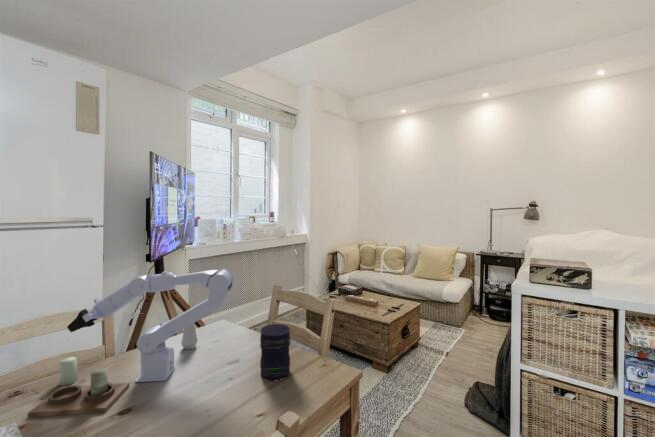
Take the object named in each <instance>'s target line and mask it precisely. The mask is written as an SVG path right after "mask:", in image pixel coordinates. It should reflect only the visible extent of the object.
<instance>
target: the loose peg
mask: <svg viewBox="0 0 655 437" xmlns="http://www.w3.org/2000/svg"><path fill="white" fill-rule="evenodd" d="M77 362H78V359H77V357H76V356H70V357H66V358H63V359H61V360H60V361H59V364H60V365H59V366H60V367H59V368H60V369H59V370H60V373H59V374H60V376H59V377H60V383H59V384H60V385H61V386H70V385H71V384H74V383H75V382H77V381H78V363H77Z"/></svg>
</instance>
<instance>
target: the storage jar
mask: <svg viewBox="0 0 655 437" xmlns="http://www.w3.org/2000/svg"><path fill="white" fill-rule="evenodd" d="M290 329H291V328H290V327H289V326H288V325H285V324H281V323H279V324H278V323H276V324H269V325H265V326H263V327H262V328H260V340H259V341H260V345H259V346H260V350H261V357H260V364H259V366H260V367H259V368H260V378H261V379H262V378H264V379H266V380H269V381H268V382H276V381H275V380H280V379H283V378H285V377H287V376H288V375H289V376H290V374H289V373H290V368H291V355H290V346H291V333H290V332H291V330H290ZM289 376H288V377H289ZM288 377H287V378H288ZM264 379H263V380H264ZM285 379H286V378H285ZM266 380H265V381H266ZM283 380H284V379H283ZM280 381H281V380H280Z"/></svg>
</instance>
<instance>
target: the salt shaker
mask: <svg viewBox="0 0 655 437" xmlns="http://www.w3.org/2000/svg"><path fill="white" fill-rule="evenodd" d="M197 344H198V337H197V331H196V327H195V323H193V324H191V325H189V326H188V327H186V328H184V329H183V334H182V339H181V347H182V348H183V350H184V349H186V350H185V351H190V350H189V349H191V350H193V349H192V348H194V347H195V348H196V346H197ZM195 348H194V349H195Z"/></svg>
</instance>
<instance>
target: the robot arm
mask: <svg viewBox="0 0 655 437" xmlns="http://www.w3.org/2000/svg"><path fill="white" fill-rule="evenodd" d="M233 283H234V274H233V273H232V272H231V271H230V270H229V269H224V268H223V269H220V270H219V269H210V270H203V271H197V272H196V271H195V272H190V273H185V274H179V275H176V274H175V273H173V272H168V271H167V270H165V271H162V272H161V273H158V274H157V273H156V274H152V273H147V274H141V275H139V276H137V277H136V278H133V279H132V280H131V281H129V282H128V283H127V284H124V285H123V286H121V287H120V288H117V290H115V291H113V292H112V293H110V294H109V295H106V297H104V298H102V299H101V298H100V297H97V298H95V299H93V302H94V305H93V306H92V307H91V309H90V310H89V311H88V310H87V308H83V309H81V310H80V311H79V312H78V314H77V316H76V317H75V319H74V320H72V321H71V322H70V323H69V324H68V325H67V326H66V328H67V329H68V331H69V332H70V333H73V332H76V331H79V330H80V329H82V328H87V327H88V328H89V327H92V326H94V325H96V324H95V321H97V320H100V319H108V318H110V317H111V316H112V315H113V314H115V313H117V312H118V311H119V310H121V309H122V308H124V307H126V306H128V304H130V303H132V302H133V301H135V300H136V299H137V298H138V297H142V296H144V295H145V294H146V293H159V292H167V291H172V290H174V289H175V288H176V287H177V286H184V285H195V284H200V285H202V286H203V288H208V289H209V290H208V292H209V294H208V297H207V298H206V299H204V300H203V301H201V302H200V303H198V304H195V305H194V306H193V307H190V308H189V309H187V310H185V311H184V312H181V313H180V314H178V315H176V316H175V317H173V318H171V319H169V320H166V321H164V322H162V323H156V324H153V325H152V326H151V327H150V328H149V329H148V330H147V331H146V332H144V333H143V334H141V335H140V336H139V337H138V339H137V340H136V347H137V349H138V351H139V352H140V375H138V377H137V378H136V379H135V380H134V382H135V383H143V382H144V383H147V382H162V381H163V382H164V381H167V379H169V377H170V376H171V375H172V373H173V372H174V370H175V369H176V366H175V349H174V348H173V347H169V346H167V345H166V341H167V340H168V339H170V338H171V337H172V336H174V335H176V334H177V333H179V332H181V331H182V330H184V328H186V327H188V326H189V325H191V324H193V323H194V324H195V323H197V322H198V321H200V320H202V319H203V318H205V317H206V316H210V314H212V313H213V312H215V311H217V310H219V309H220V308H222V306H223V304H224V303H225V301H226V299H227V298H228V297H227V296H228V294H230V290H232V287H233Z"/></svg>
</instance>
